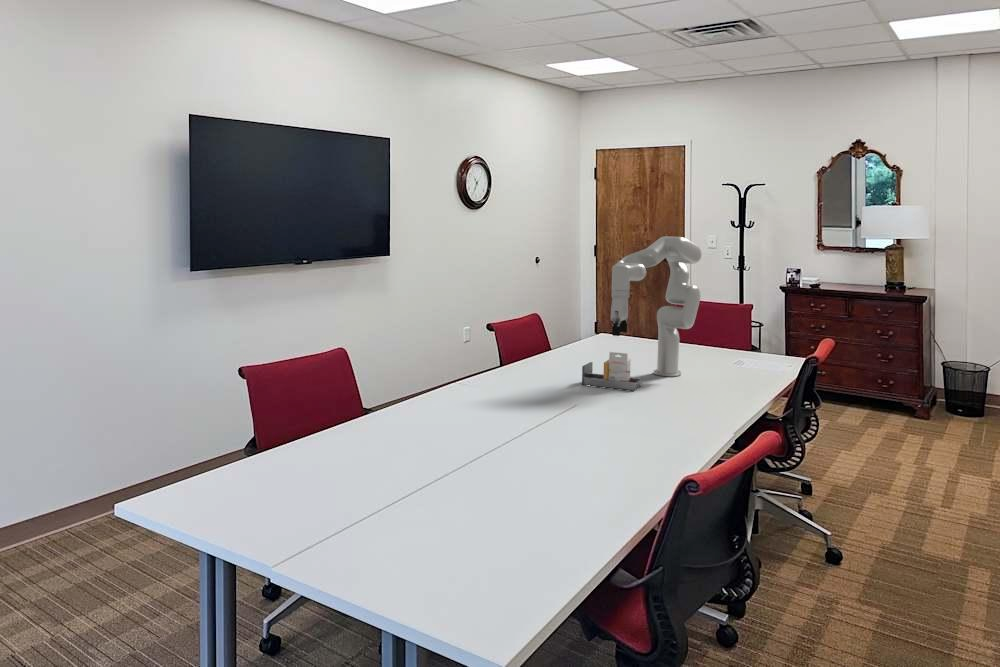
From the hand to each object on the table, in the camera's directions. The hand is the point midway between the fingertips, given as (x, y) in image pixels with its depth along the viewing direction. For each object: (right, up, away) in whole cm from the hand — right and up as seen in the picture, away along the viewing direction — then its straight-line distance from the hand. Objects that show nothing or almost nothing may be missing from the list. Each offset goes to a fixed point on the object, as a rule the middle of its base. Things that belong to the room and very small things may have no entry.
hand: (619, 333), depth 317 cm
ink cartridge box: (0, -22, +4) cm, 23 cm away
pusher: (-4, -22, +6) cm, 23 cm away
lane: (-3, -23, +5) cm, 23 cm away
